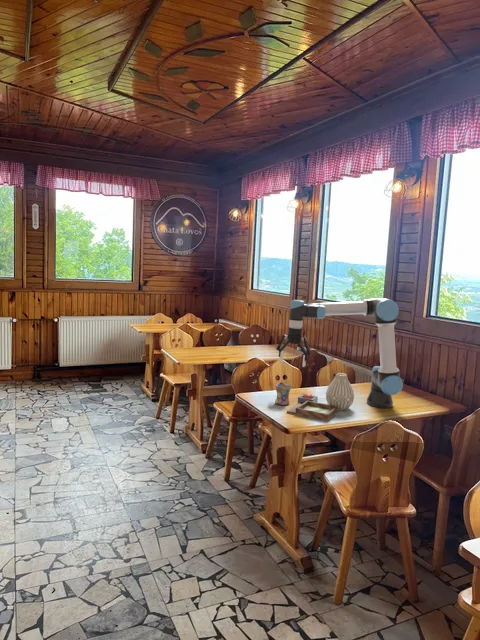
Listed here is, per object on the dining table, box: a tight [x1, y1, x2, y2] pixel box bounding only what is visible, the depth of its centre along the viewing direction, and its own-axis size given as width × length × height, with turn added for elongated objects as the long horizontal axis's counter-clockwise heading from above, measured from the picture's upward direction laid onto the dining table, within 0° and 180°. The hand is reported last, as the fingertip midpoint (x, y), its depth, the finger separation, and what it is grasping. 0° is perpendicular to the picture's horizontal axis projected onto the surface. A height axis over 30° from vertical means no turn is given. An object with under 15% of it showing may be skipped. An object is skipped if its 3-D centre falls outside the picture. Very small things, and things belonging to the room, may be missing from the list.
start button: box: [303, 393, 313, 399], centre depth 274 cm, size 5×5×4 cm
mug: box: [274, 383, 292, 406], centre depth 271 cm, size 12×9×11 cm
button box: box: [297, 393, 319, 404], centre depth 274 cm, size 9×9×4 cm
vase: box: [325, 372, 355, 411], centre depth 267 cm, size 16×16×20 cm
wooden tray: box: [286, 401, 339, 422], centre depth 256 cm, size 23×18×4 cm
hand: (292, 364), depth 265 cm, fingers open, 13 cm apart
